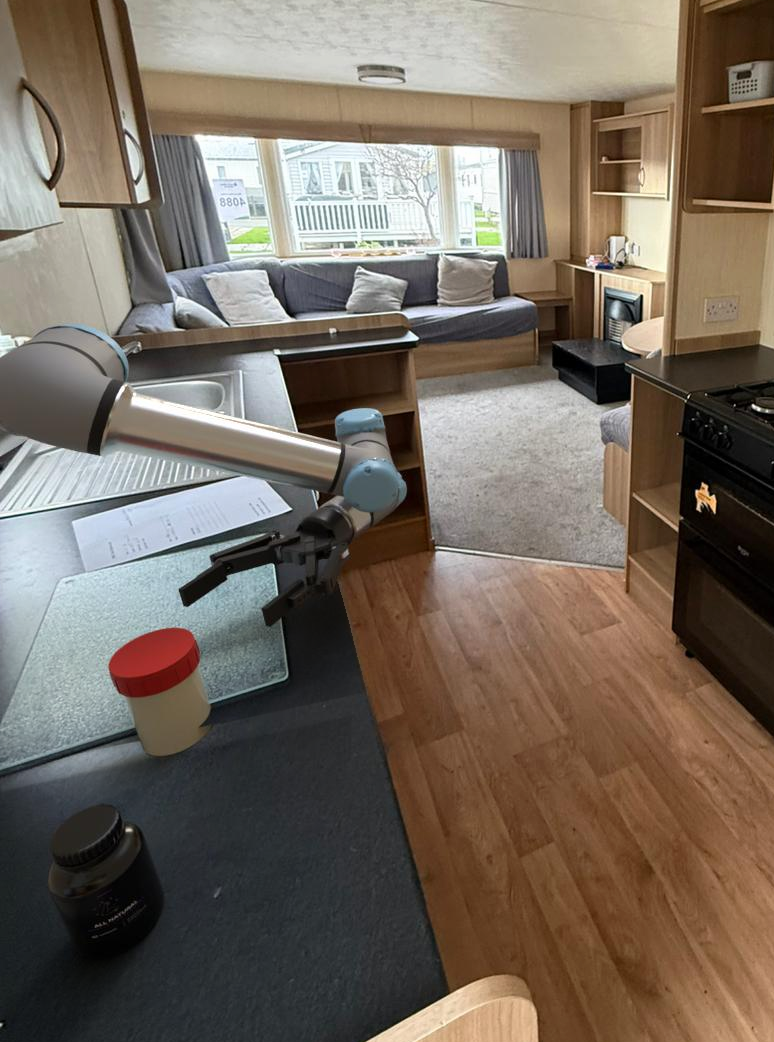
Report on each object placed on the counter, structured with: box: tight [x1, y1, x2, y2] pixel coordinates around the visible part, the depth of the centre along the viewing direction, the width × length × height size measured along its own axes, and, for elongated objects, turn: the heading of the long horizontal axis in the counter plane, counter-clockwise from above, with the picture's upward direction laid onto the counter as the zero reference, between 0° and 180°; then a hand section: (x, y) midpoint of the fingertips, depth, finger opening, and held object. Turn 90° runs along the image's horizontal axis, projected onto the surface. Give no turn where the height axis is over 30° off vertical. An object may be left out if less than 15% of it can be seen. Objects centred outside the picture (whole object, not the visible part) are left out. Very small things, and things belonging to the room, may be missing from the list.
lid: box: [108, 627, 201, 698], centre depth 75 cm, size 8×8×3 cm
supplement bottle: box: [46, 803, 165, 960], centre depth 57 cm, size 7×7×12 cm
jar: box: [123, 664, 213, 757], centre depth 77 cm, size 8×8×12 cm
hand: (223, 607), depth 83 cm, fingers open, 13 cm apart
